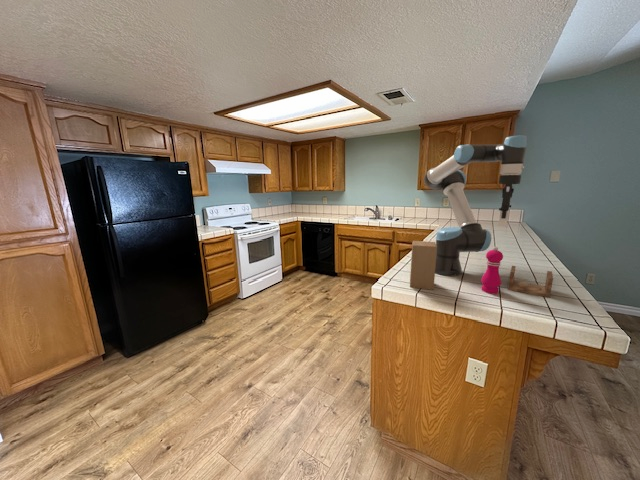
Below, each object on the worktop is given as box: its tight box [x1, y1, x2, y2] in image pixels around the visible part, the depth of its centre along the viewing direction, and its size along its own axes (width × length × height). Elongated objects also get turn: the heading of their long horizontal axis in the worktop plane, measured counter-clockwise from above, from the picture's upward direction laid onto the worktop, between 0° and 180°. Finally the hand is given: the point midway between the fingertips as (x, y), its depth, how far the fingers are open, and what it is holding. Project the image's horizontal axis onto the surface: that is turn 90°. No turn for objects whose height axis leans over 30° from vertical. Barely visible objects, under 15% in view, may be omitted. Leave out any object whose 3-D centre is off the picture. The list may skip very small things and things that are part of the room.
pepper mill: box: [480, 246, 504, 295], centre depth 110 cm, size 7×7×20 cm
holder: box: [507, 265, 554, 298], centre depth 113 cm, size 14×11×8 cm
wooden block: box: [409, 240, 437, 291], centre depth 118 cm, size 10×10×20 cm
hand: (502, 223), depth 114 cm, fingers open, 13 cm apart
